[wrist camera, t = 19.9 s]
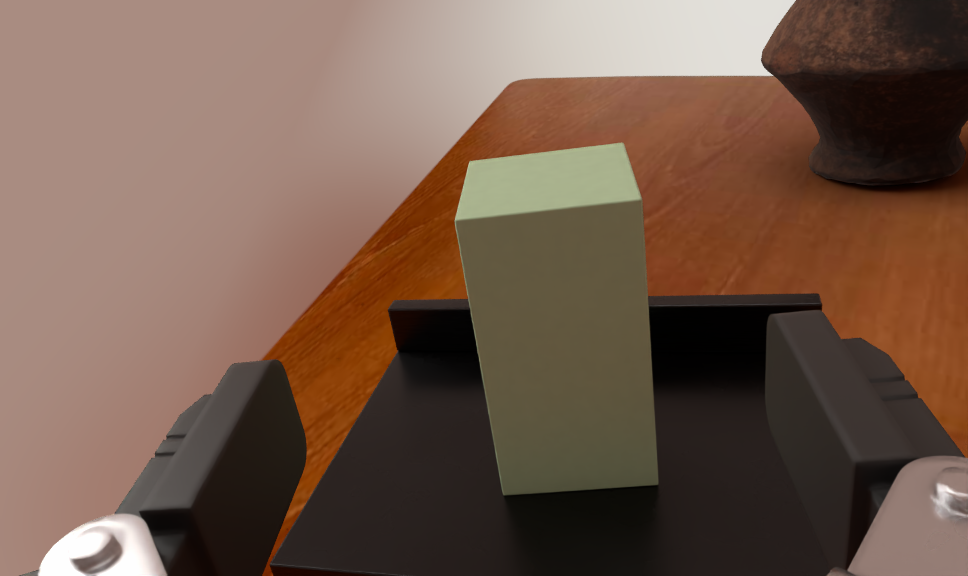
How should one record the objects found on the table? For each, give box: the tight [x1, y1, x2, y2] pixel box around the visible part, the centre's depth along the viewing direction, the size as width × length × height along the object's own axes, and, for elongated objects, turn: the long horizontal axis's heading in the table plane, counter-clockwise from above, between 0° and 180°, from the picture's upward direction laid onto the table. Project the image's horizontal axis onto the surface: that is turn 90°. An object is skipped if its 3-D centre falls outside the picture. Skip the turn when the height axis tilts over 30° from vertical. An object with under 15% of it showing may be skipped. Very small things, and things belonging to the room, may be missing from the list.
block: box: [455, 143, 658, 495], centre depth 23 cm, size 5×5×9 cm
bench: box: [270, 294, 830, 576], centre depth 26 cm, size 16×12×10 cm
